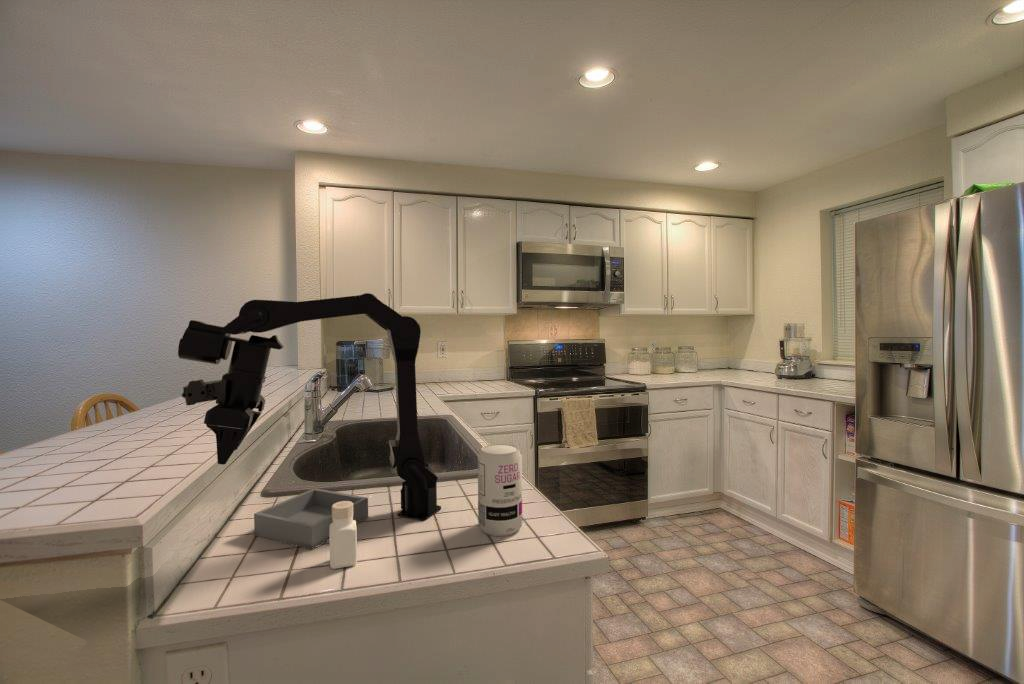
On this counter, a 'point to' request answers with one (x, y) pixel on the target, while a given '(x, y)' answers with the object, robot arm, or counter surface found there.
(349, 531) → the salt shaker
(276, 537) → the bin
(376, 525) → the counter surface
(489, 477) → the supplement can
